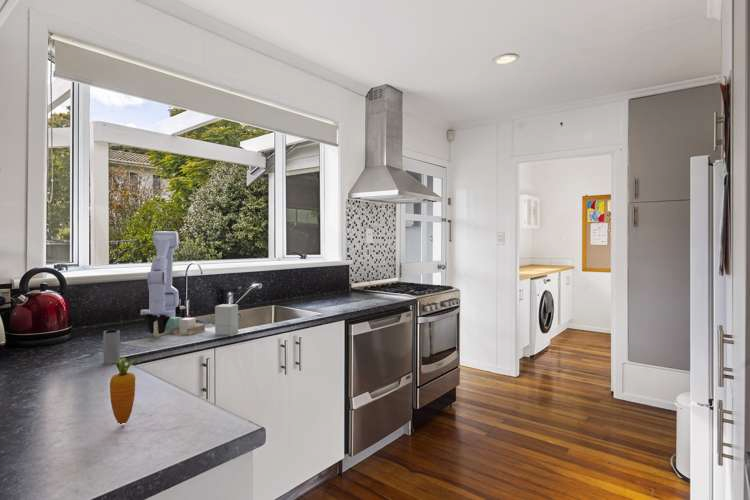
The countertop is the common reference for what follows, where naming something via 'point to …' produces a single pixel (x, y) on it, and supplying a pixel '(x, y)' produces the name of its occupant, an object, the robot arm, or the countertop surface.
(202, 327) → the lane shelf
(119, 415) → the carrot
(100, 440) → the countertop surface
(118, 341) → the planter
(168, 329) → the strung block
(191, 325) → the plain block
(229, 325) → the supplement box
